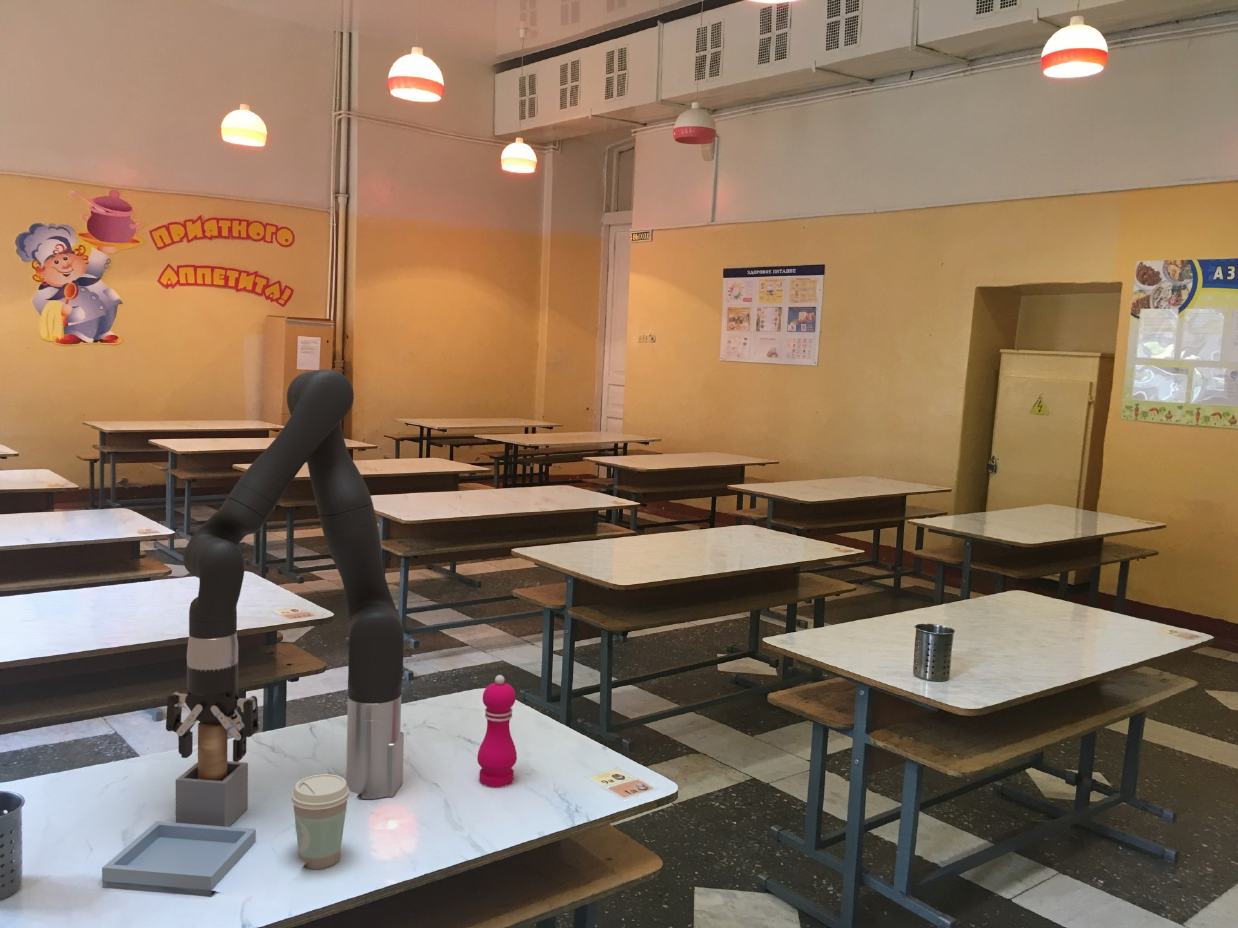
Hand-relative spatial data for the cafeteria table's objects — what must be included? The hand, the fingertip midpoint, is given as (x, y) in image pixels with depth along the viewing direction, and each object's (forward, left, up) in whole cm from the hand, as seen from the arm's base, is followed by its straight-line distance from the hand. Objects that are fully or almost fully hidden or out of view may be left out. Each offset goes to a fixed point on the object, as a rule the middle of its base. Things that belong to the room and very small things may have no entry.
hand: (212, 757), depth 153 cm
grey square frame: (0, 0, -11) cm, 11 cm away
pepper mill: (-42, -24, -11) cm, 50 cm away
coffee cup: (-21, +8, -11) cm, 25 cm away
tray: (-2, +13, -11) cm, 17 cm away
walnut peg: (0, 0, -10) cm, 10 cm away
